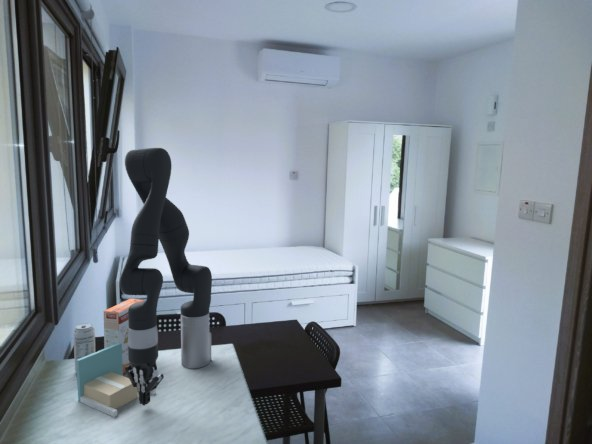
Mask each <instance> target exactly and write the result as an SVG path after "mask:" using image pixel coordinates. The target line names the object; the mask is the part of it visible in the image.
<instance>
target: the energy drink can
mask: <svg viewBox="0 0 592 444" xmlns="http://www.w3.org/2000/svg"><path fill="white" fill-rule="evenodd" d="M72 335H73V337H72V338H73V353H74V355H73V356H74V372H75V373H77V361H76V360H78V359H80V358H82V357H85V356H87V355H90V354H92V353H95V352H96V333H95V328H94V326H93V324H92V323H90V322H89V323H88V322H86V323H80V324H77V325H76V326H75V327H74V330H73V333H72Z"/></svg>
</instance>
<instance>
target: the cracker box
mask: <svg viewBox="0 0 592 444" xmlns="http://www.w3.org/2000/svg"><path fill="white" fill-rule="evenodd" d="M142 301H146V299H145V300H144V299H138V298H129V299H127V300H125V301H122V302H120V303H117V304H116V305H114V306H112V307H109V308H106V309H105V310H104V311H103V338H104V339H103V343H104V344H103V346H104V348H103V349H105V348H107V347H110V346H112V345H115V344H117V343H122V367H123V375H124V374H127V373H126V371H125V367H127V366H129V365H131V362H130V361H129V359H128V330H129V321H128V309H129V307H130V306H131V305H132V304H134V303H138V302H142Z"/></svg>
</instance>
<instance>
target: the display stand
mask: <svg viewBox="0 0 592 444" xmlns="http://www.w3.org/2000/svg"><path fill="white" fill-rule="evenodd" d="M76 361H77V372H76V380H77V401H78V402H79V403H82V404H84V405H86V406H88V407H90V408H92V409H95V410H97V411H99V412H102V413H104V414H106V415H109V416H111V417H113V418H115V417H117V416H118V409H114V408H112V407H109V406H107V405H105V404H102V403H100V402H98V401H96V400H93V399H91V398H89V397H86V396H84V385H83V384H86V383H88V382H90V381H92V380H94V379H95V378H97V377H100V376H103V375H105V374H107V373H109V372H114V373H117V374H119V375H122V376H124V374H123V367H122V343H117V344H115V345H112V346H110V347H107V348H105V349H104V348H102V349H99V350H98V351H95V353H92V354H90V355H87V356H85V357H82V358H80V359H78V360H76ZM156 389H157V388H156ZM156 389H154V390H152V391H150V395H151V396H153V395H156Z"/></svg>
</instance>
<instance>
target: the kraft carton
mask: <svg viewBox="0 0 592 444" xmlns="http://www.w3.org/2000/svg"><path fill="white" fill-rule="evenodd" d="M83 385H84V396H86V397H89V398H91V399H93V400H96V401H98V402H100V403H102V404H105V405H107V406H109V407H112V408H114V409H116V410H118V408H120V407H121V406H123V405H125V404H128V403H130V402H131V401H133V400H134V399H136V398H139V395H138V390H137V387H133V385H132V383H131V381H130V379H129V377H126V376H125V375H123V376H122V375H119V374H117V373H114V372H109V373H107V374H105V375H103V376H100V377H97V378H95V379H94V380H92V381H90V382H88V383H86V384H83Z"/></svg>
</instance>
